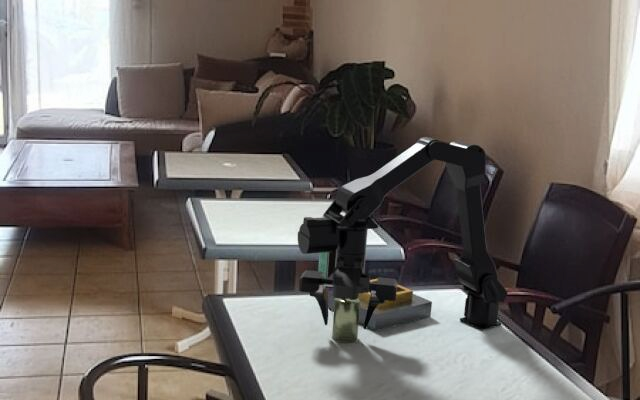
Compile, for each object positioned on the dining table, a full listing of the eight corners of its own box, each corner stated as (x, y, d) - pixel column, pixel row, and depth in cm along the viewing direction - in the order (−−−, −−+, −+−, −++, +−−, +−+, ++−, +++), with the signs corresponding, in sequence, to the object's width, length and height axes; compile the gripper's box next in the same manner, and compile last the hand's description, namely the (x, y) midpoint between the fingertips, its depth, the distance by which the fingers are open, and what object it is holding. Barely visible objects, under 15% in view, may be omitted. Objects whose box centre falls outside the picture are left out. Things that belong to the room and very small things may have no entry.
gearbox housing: (430, 317, 175) (432, 292, 173) (375, 330, 165) (377, 305, 164) (375, 292, 188) (376, 269, 187) (320, 303, 179) (322, 279, 177)
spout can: (362, 340, 160) (366, 292, 158) (342, 345, 157) (346, 295, 154) (346, 331, 163) (349, 284, 161) (326, 336, 160) (330, 288, 158)
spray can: (338, 295, 184) (344, 210, 180) (314, 292, 185) (320, 208, 181) (342, 288, 190) (348, 205, 185) (319, 285, 191) (325, 203, 186)
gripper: (296, 257, 149) (292, 336, 153) (398, 267, 147) (391, 347, 151) (305, 241, 160) (301, 316, 164) (400, 250, 158) (393, 325, 161)
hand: (345, 326), depth 160 cm, fingers open, 7 cm apart
